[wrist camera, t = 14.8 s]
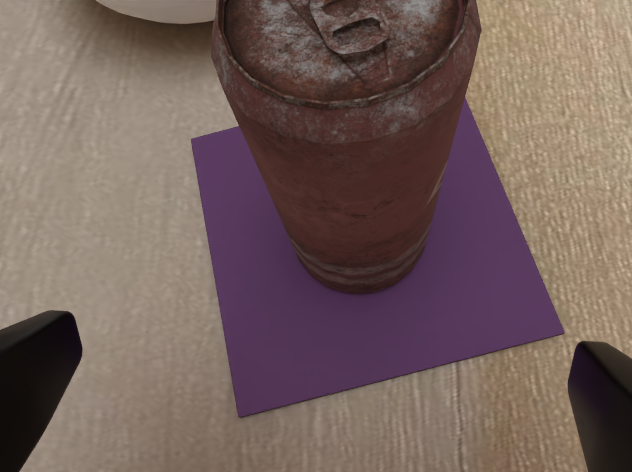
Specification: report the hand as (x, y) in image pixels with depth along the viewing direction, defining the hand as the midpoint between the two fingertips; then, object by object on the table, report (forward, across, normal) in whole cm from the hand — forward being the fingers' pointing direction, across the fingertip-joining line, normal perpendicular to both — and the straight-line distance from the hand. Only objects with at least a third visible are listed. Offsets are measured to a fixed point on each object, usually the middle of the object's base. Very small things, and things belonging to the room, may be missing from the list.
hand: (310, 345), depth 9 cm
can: (+14, 0, +4) cm, 15 cm away
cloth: (+15, 0, +4) cm, 15 cm away
